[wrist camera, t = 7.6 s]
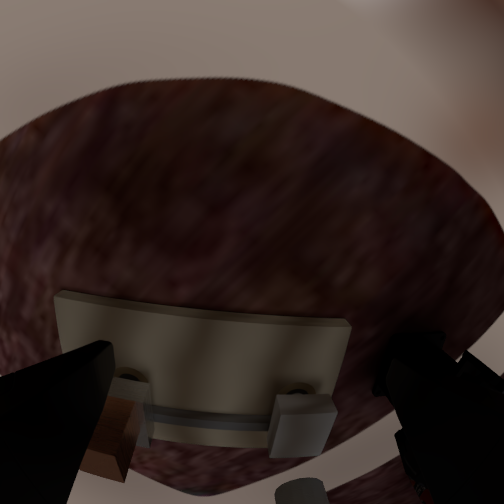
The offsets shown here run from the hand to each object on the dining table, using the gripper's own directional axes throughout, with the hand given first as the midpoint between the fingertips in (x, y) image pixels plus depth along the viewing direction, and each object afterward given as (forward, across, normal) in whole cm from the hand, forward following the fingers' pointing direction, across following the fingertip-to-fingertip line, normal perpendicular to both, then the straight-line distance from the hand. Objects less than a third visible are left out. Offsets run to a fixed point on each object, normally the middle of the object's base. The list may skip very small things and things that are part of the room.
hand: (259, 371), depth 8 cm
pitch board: (+12, +3, +10) cm, 16 cm away
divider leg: (+10, +8, +11) cm, 17 cm away
